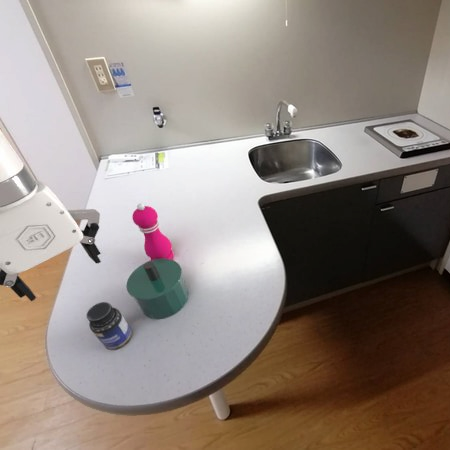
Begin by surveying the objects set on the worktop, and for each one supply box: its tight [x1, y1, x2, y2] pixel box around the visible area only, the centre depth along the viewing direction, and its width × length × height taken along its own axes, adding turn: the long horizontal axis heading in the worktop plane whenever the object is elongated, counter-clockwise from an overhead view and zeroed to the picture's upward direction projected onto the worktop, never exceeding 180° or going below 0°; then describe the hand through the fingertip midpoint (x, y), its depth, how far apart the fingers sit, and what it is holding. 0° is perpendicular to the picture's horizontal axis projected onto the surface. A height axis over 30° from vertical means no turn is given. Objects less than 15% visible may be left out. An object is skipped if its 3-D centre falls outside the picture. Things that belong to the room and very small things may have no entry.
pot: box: [133, 276, 189, 320], centre depth 77 cm, size 12×12×8 cm
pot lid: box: [126, 259, 183, 300], centre depth 73 cm, size 13×13×6 cm
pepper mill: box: [131, 203, 175, 261], centre depth 85 cm, size 7×7×20 cm
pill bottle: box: [86, 301, 133, 351], centre depth 68 cm, size 6×6×11 cm
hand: (65, 276), depth 50 cm, fingers open, 9 cm apart
